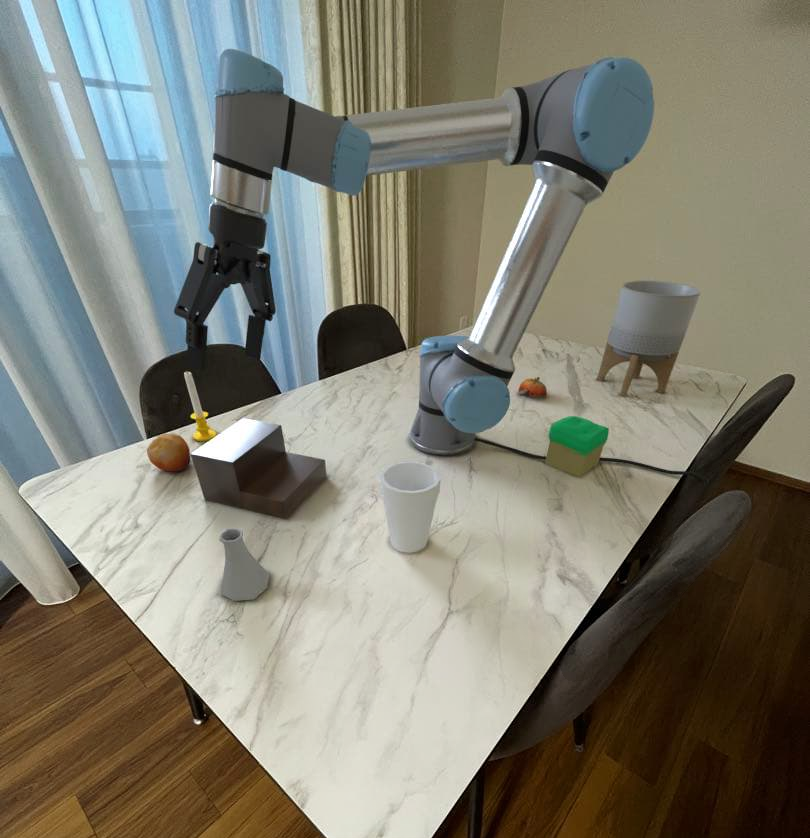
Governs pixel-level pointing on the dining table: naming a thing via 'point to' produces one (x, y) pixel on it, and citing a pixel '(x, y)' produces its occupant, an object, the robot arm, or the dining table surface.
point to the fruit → (169, 452)
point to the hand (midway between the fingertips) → (226, 362)
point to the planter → (648, 329)
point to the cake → (575, 444)
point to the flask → (241, 569)
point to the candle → (198, 413)
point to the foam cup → (409, 503)
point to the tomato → (533, 387)
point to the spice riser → (256, 470)
